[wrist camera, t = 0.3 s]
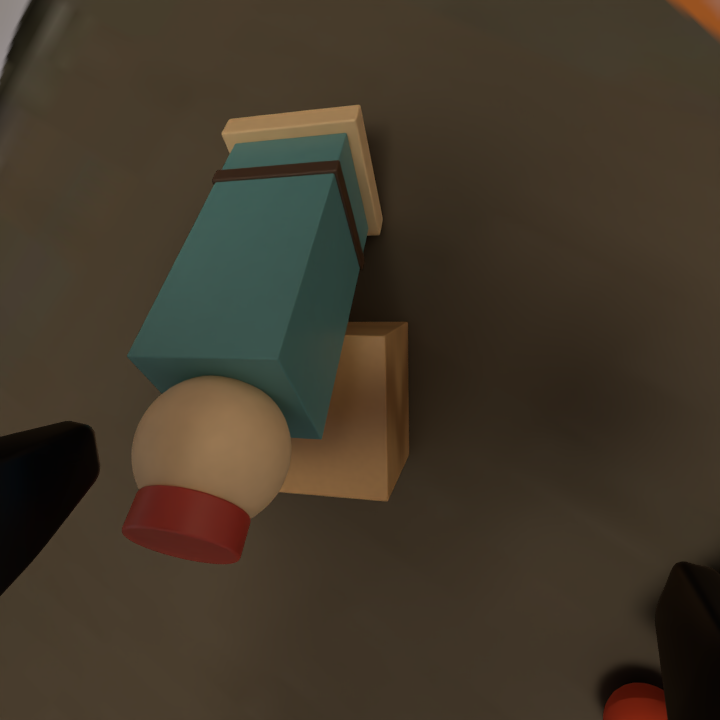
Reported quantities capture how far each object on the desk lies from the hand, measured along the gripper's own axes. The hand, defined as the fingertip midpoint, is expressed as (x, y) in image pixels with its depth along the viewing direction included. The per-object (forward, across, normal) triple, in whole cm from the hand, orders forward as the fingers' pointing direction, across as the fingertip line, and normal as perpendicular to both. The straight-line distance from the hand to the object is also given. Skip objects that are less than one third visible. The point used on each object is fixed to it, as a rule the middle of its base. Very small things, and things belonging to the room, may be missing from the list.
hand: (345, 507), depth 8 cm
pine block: (+14, +5, +5) cm, 16 cm away
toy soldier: (+15, +5, +1) cm, 16 cm away
